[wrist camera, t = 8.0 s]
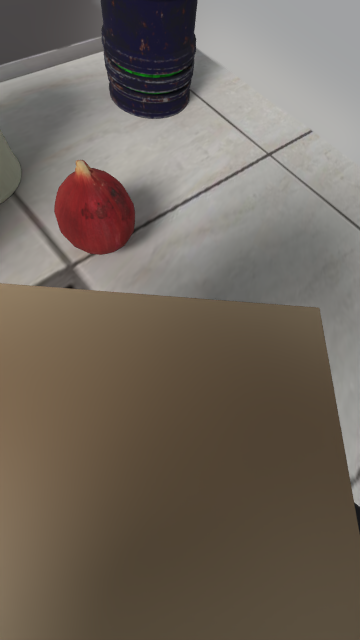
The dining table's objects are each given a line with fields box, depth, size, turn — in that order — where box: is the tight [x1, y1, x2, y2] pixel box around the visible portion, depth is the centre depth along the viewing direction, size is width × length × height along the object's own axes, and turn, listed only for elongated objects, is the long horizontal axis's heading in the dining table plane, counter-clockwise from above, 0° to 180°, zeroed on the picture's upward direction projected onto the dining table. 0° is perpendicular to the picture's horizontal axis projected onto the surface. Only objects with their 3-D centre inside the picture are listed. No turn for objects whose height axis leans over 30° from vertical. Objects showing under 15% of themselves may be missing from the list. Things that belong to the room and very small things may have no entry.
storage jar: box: [101, 0, 197, 119], centre depth 26 cm, size 10×10×15 cm
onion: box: [54, 160, 135, 255], centre depth 21 cm, size 6×6×8 cm
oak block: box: [0, 283, 360, 640], centre depth 9 cm, size 4×4×12 cm
